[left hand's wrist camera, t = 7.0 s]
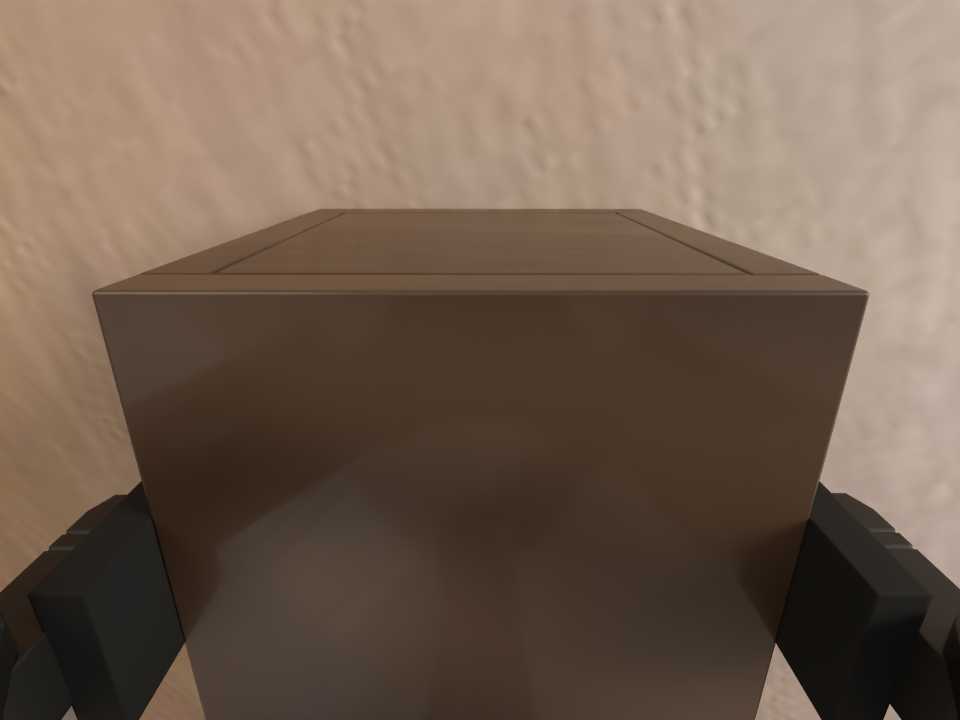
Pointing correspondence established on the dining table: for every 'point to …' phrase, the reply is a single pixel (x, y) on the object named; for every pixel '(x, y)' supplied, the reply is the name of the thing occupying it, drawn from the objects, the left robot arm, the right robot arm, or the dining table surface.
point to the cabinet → (480, 460)
